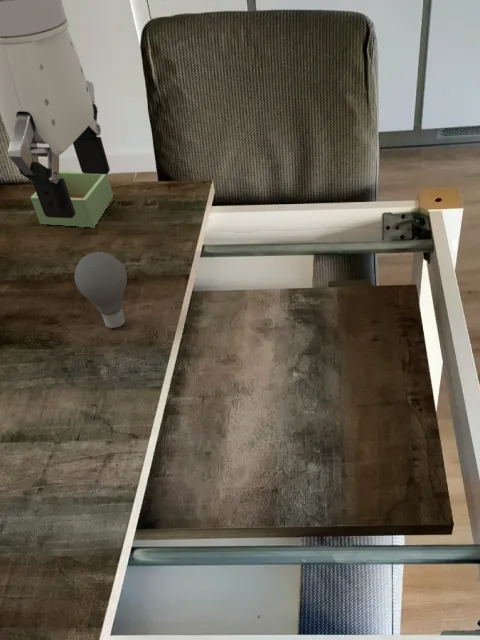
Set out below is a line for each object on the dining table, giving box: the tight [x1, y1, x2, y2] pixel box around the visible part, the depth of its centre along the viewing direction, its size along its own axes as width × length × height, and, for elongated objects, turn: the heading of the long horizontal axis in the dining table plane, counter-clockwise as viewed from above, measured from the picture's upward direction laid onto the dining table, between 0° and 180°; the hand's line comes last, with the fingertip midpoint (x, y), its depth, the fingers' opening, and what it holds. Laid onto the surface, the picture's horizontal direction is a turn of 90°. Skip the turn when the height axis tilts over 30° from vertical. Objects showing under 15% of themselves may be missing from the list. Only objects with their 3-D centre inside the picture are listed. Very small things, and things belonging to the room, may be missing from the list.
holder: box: [30, 170, 114, 229], centre depth 102 cm, size 9×9×5 cm
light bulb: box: [73, 251, 128, 329], centre depth 80 cm, size 6×6×10 cm
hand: (79, 193), depth 71 cm, fingers open, 9 cm apart
